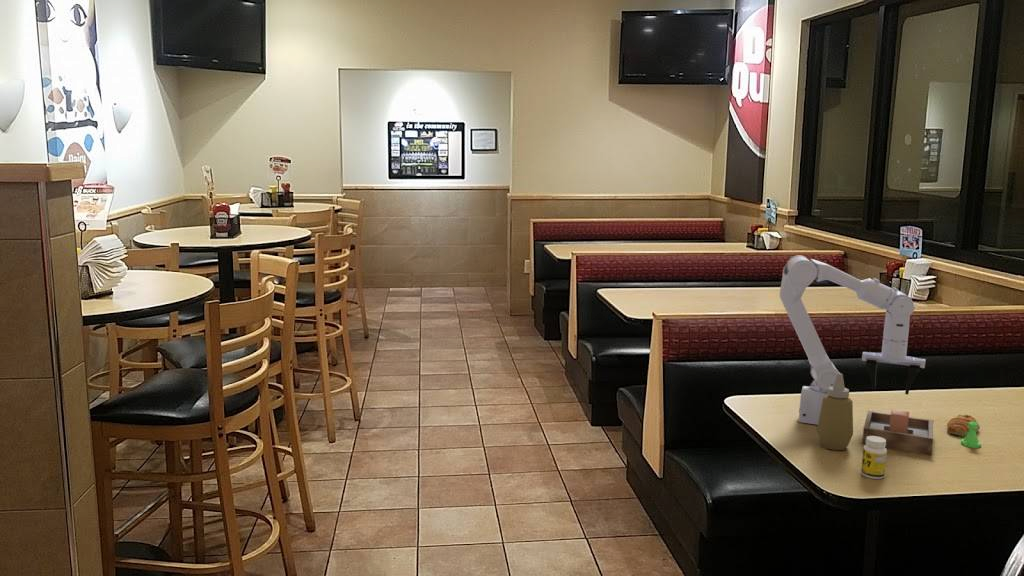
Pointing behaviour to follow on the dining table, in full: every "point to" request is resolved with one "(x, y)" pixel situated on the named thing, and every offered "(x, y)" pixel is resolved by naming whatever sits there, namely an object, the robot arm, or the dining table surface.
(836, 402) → the squeeze bottle
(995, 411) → the dining table surface
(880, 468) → the supplement bottle
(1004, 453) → the dining table surface
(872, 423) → the socket box
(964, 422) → the pastry
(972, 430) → the game piece
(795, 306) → the robot arm
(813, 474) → the dining table surface
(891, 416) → the peg
